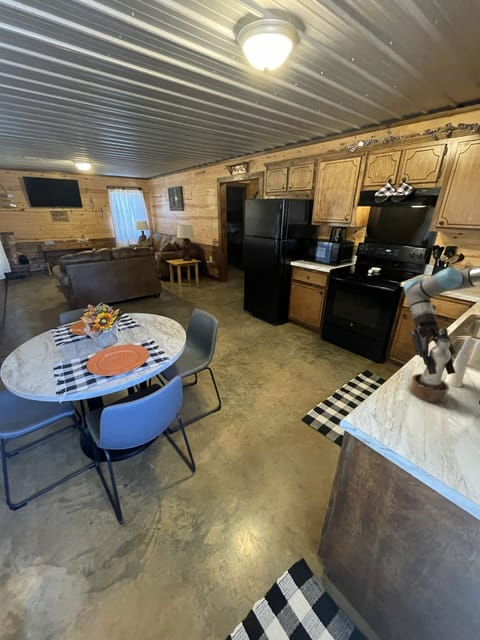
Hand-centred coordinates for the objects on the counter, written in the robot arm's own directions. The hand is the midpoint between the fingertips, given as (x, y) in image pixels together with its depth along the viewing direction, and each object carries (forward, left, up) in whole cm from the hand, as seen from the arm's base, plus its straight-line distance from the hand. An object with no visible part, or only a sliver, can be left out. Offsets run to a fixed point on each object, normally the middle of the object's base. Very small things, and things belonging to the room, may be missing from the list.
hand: (442, 373), depth 96 cm
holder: (+2, -3, -13) cm, 13 cm away
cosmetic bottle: (-6, -19, -13) cm, 23 cm away
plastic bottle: (+2, -3, -9) cm, 9 cm away
